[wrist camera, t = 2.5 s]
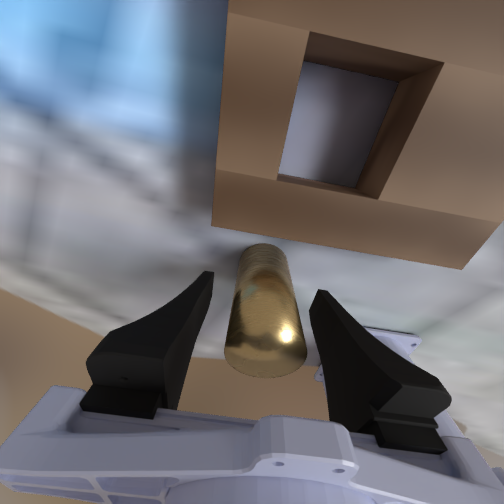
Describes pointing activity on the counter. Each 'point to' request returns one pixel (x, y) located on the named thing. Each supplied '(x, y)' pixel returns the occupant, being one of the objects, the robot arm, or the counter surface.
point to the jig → (390, 133)
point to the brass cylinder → (264, 317)
